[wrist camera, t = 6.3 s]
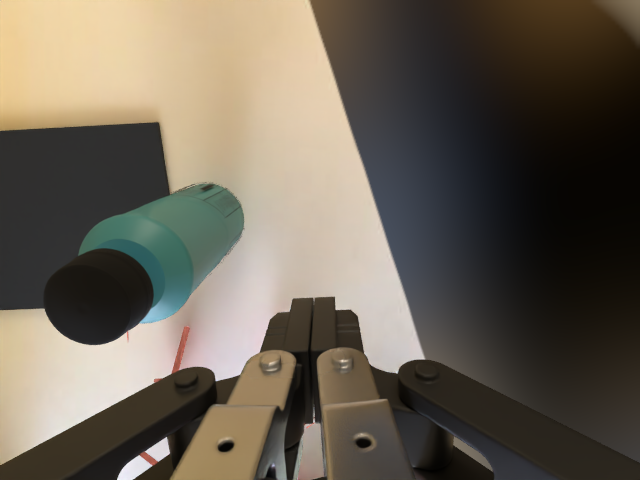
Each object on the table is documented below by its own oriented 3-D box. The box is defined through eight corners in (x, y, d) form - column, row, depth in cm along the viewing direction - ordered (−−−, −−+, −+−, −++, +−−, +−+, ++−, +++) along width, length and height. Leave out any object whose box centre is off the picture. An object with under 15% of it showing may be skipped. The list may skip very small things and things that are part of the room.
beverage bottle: (232, 168, 34) (110, 206, 15) (261, 235, 36) (186, 347, 16) (168, 194, 35) (-28, 263, 16) (200, 258, 36) (57, 393, 17)
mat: (-29, 309, 38) (-33, 311, 38) (-83, 135, 34) (-88, 135, 33) (186, 301, 38) (184, 302, 37) (159, 122, 33) (157, 122, 33)
